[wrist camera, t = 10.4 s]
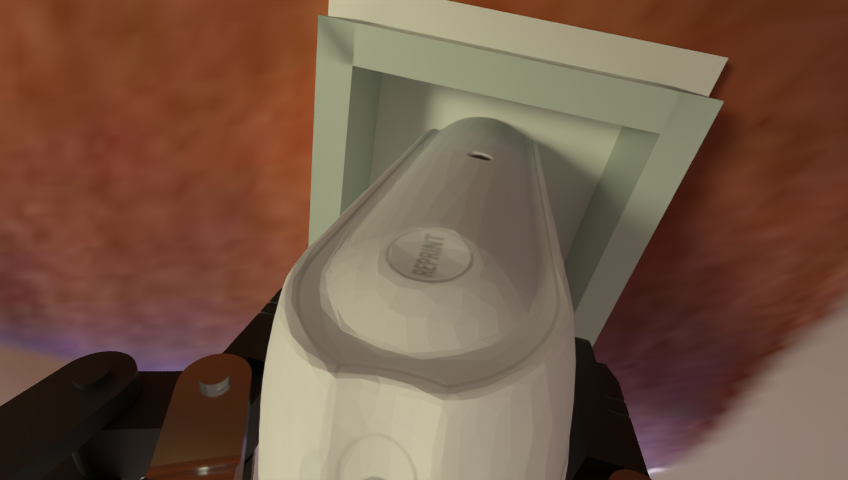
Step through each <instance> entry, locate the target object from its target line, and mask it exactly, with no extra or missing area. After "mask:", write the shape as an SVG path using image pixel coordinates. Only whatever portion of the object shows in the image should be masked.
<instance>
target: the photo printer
mask: <svg viewBox="0 0 848 480" xmlns="http://www.w3.org/2000/svg"><path fill="white" fill-rule="evenodd" d="M575 368H576V355H575V331H574V310H573V305H572V300H571V295H570V290H569V285H568V280H567V276H566V272H565V267H564V262H563V258H562V255H561V250H560V245H559V241H558V236H557V232H556V227H555V222H554V218H553V215H552V210H551V206H550V201H549V197H548V192H547V187H546V183H545V177H544V173H543V169H542V164H541V159H540V154H539V148H538V145H537V143H536V141H534V140H529V139H523V138H522V137H521V136H520V134H519V133H518V132H517V131H516V130H514V129H513V128H512V127H511V126H509V125H507V124H506V123H504V122H501V121H499V120H496V119H493V118H487V117H469V118H464V119H461V120H458V121H455V122H453V123H451V124H449V125H448V126H446V127H445V128H444V129H441V130H438V129H431V130H429V131H427V132H425V133H424V134H423V135H422V136H421V137H420V138H419V139H418V140H417V141H415V143H414V144H413V145H412V146H410V147H409V148H408V149H407V150H406V151H405V152H404V153H403V154H402V155H401V156H400V157H399V158H398V159H397V160H396V161H395V163H393V164H392V165H391V166H390V167H389V168H388V169H387V170H386V171H385V172H384V173H383V174H382V175H381V176H380V177H379V178H378V179H377V180H376V181H375V182H374V183H373V184H372V185H371V186H370V187H369V188H368V189H367V190H366V191H365V192H363V193H362V194H361V195H360V196H359V197H358V198H357V199H356V200H355V201H354V202H353V203H352V205H351V206H350V207H349V208H348V209H347V210H346V211H345V212H344V213H343V214H342V215H341V216H340V217H339V218H338V219H337V220H336V221H335V222H334V223H333V224H332V225H331V226H330V227H329V228H328V229H327V230H326V231H325V232H324V233H323V234H322V235H321V236H320V237H319V238H318V239H317V240H316V241H315V242H314V243H313V244H312V245H311V246H310V247H309V248H308V249H307V250H306V251H305V252H304V253H303V254H302V256H301V257H300V258H299V260H298V261H297V262H296V264H295V265H294V267H293V268H292V270H291V271H290V273H289V274H288V275H287V277H286V280H285V283H284V285H283V288H282V291H281V294H280V298H279V302H278V306H277V309H276V313H275V317H274V320H273V325H272V330H271V335H270V339H269V344H268V349H267V355H266V361H265V367H264V374H263V382H262V392H261V403H260V424H259V470H258V471H259V480H565V478H566V472H567V466H568V454H569V437H570V429H571V420H572V412H573V404H574V387H575Z"/></svg>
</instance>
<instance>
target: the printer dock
mask: <svg viewBox="0 0 848 480" xmlns="http://www.w3.org/2000/svg"><path fill="white" fill-rule="evenodd" d="M727 60H728V58H726V57H721V56H717V55H712V54H707V53H702V52H697V51H692V50H687V49H682V48H677V47H672V46H668V45H663V44H658V43H653V42H648V41H643V40H638V39H633V38H628V37H624V36H619V35H614V34H609V33H604V32H599V31H594V30H589V29H584V28H580V27H575V26H570V25H565V24H560V23H555V22H550V21H545V20H540V19H535V18H531V17H526V16H521V15H516V14H511V13H506V12H501V11H496V10H491V9H487V8H482V7H477V6H472V5H467V4H462V3H457V2H452V1H447V0H329V12H328V16H324V15H318V38H317V61H316V84H315V108H314V131H313V154H312V178H311V201H310V225H309V247H310V246H311V245H312V244H313V243H314V242H315V241H316V240H317V239H318V238H319V237H320V236H321V235H322V234H323V233H324V232H325V231H326V230H327V229H328V228H329V227H330V226H331V225H332V224H333V223H334V222H335V221H336V220H337V219H338V218H339V217H340V216H341V215H342V214H343V213H344V212H345V211H346V210H347V209H348V208H349V207H350V206H351V205H352V203H353V202H354V201H355V200H356V199H357V198H358V197H359V196H360V195H361V194H362V193H363V192H365V191H366V190H367V189H368V188H369V187H370V186H371V185H372V184H373V183H374V182H375V181H376V180H377V179H378V178H379V177H380V176H381V175H382V174H383V173H384V172H385V171H386V170H387V169H388V168H389V167H390V166H391V165H392V164H393V163H395V161H396V160H397V159H398V158H399V157H400V156H401V155H402V154H403V153H404V152H405V151H406V150H407V149H408V148H409V147H410V146H412V145H413V144H414V143H415V141H417V140H418V139H419V138H420V137H421V136H422V135H423V134H424V133H425V132H427V131H429V130H431V129H438V130H441V129H444V128H445V127H446V126H448V125H449V124H451V123H453V122H455V121H458V120H461V119H464V118H469V117H487V118H493V119H496V120H499V121H501V122H504V123H506V124H507V125H509V126H511V127H512V128H513V129H514V130H516V131H517V132H518V133H519V134H520V136H521V137H522V138H523V139H529V140H534V141H536V143H537V145H538V148H539V154H540V159H541V164H542V169H543V173H544V177H545V183H546V187H547V192H548V197H549V201H550V206H551V210H552V215H553V218H554V222H555V227H556V232H557V236H558V241H559V245H560V250H561V255H562V258H563V262H564V267H565V272H566V276H567V280H568V285H569V290H570V295H571V300H572V305H573V310H574V331H575V337H579V338H582V339H586V340H589V341H590V343H591V346H592V347H593V345H594V343H595V341H596V340H597V338H598V336H599V334H600V332H601V330H602V328H603V326H604V325H605V323H606V321H607V319H608V317H609V315H610V313H611V312H612V310H613V308H614V306H615V304H616V302H617V300H618V298H619V297H620V295H621V293H622V291H623V289H624V287H625V285H626V284H627V282H628V280H629V278H630V276H631V274H632V272H633V271H634V269H635V267H636V265H637V263H638V261H639V259H640V257H641V256H642V254H643V252H644V250H645V248H646V246H647V244H648V243H649V241H650V239H651V237H652V235H653V233H654V231H655V229H656V228H657V226H658V224H659V222H660V220H661V218H662V216H663V215H664V213H665V211H666V209H667V207H668V205H669V203H670V202H671V200H672V198H673V196H674V194H675V192H676V190H677V188H678V187H679V185H680V183H681V181H682V179H683V177H684V175H685V174H686V172H687V170H688V168H689V166H690V164H691V162H692V160H693V159H694V157H695V155H696V153H697V151H698V149H699V147H700V146H701V144H702V142H703V140H704V138H705V136H706V134H707V133H708V131H709V129H710V127H711V125H712V123H713V121H714V119H715V118H716V116H717V114H718V112H719V110H720V108H721V106H722V105H723V103H724V101H722V100H718V99H715V98H711V97H709V95H710V93H711V91H712V89H713V87H714V85H715V83H716V81H717V79H718V77H719V75H720V73H721V71H722V70H723V68H724V66H725V64H726V62H727Z"/></svg>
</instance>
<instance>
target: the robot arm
mask: <svg viewBox="0 0 848 480" xmlns="http://www.w3.org/2000/svg"><path fill="white" fill-rule="evenodd" d="M281 291H282V288H281V289H280V290H279V291H278V292H277V293H276V295H275V296H274V297H273V298H272V299H271V300H270V302H269V303H267V305H266V306H265V307H264V308H263V309H262V310H261V312H260V314H259V313H258V315H257V316H256V317H255V318H254V319H253V320H252V321H251V322H250V323H249V325H248V326H247V327H246V328H245V329H244V330H243V331H242V332H241V333H240V335H239V336H238V337H237V338H236V339H235V340H234V341H233V342H232V343H231V344H230V346H229V347H228V348H227V349H226V350H225V351H224V352H223V353H222V354H214V355H210V356H207V357H204V358H201V359H199V360H197V361H195V362H194V363H192V364H191V365H189V366H188V367H187V368H186V369H185V370H184V371H138V369H137V365H136V362H135V360H134V359H133V358H132V357H131V356H129V355H128V354H125V353H122V352H116V351H106V352H98V353H94V354H90V355H86V356H84V357H81V358H79V359H76V360H74V361H72V362H70V363H69V364H67V365H65V366H64V367H62V368H60V369H59V370H57V371H56V372H54V373H53V374H51V375H49V376H48V377H46V378H45V379H43V380H42V381H40V382H38V383H37V384H35V385H34V386H32V387H30V388H29V389H27V390H26V391H24V392H22V393H21V394H19V395H18V396H16V397H14V398H13V399H11V400H10V401H8V402H7V403H5V404H3V405H2V406H0V480H139V479H140V478H141V477H145V478H144V479H141V480H253V474H254V463H255V448H256V447H257V445H258V443H259V424H260V403H261V392H262V382H263V374H264V367H265V361H266V355H267V349H268V344H269V339H270V335H271V330H272V325H273V320H274V317H275V313H276V309H277V306H278V302H279V298H280V294H281ZM575 355H576V368H575V387H574V404H573V412H572V420H571V429H570V437H569V454H568V466H567V472H566V478H565V480H652V479H650V477H649V475H648V472H647V469H646V465H645V462H644V459H643V456H642V453H641V450H640V447H639V444H638V441H637V438H636V434H635V431H634V428H633V425H632V422H631V419H630V418H629V413H628V410H627V407H626V404H625V403H624V397H623V394H622V391H621V388H620V385H619V382H618V380H617V379H616V378H615V376H614V375H613V374H612V372H611V371H610V370H609V368H608V367H607V366H606V364H602V363H598V362H596V360H595V357H594V353H593V349H592V346H591V343H590V341H589V340H586V339H582V338H579V337H575Z"/></svg>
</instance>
